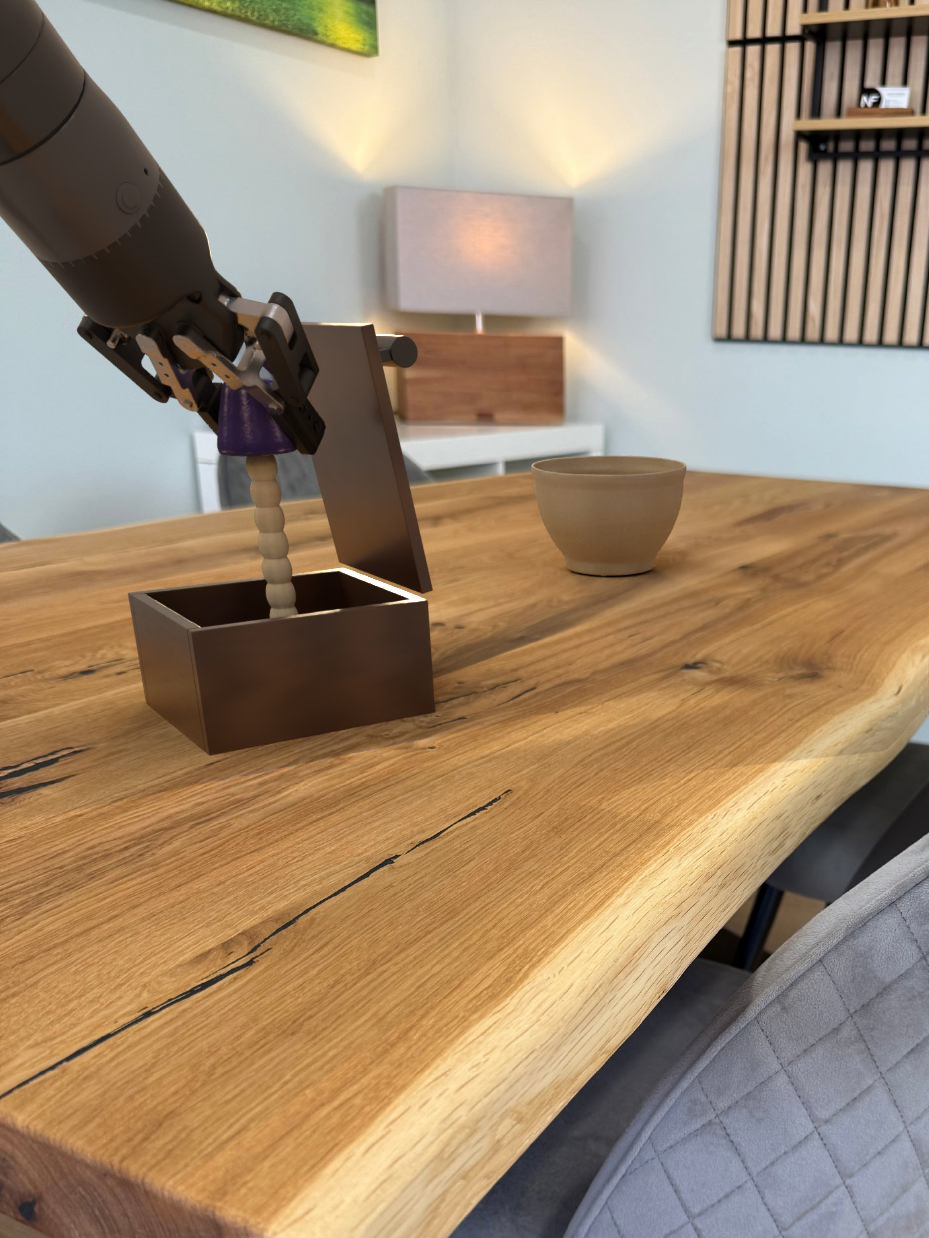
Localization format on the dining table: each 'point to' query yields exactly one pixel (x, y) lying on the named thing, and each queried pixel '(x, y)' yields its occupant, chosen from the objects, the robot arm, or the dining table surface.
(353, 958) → the dining table surface
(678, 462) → the planter bowl
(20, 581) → the dining table surface
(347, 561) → the lid
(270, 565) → the toy lamp
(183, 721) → the chest
